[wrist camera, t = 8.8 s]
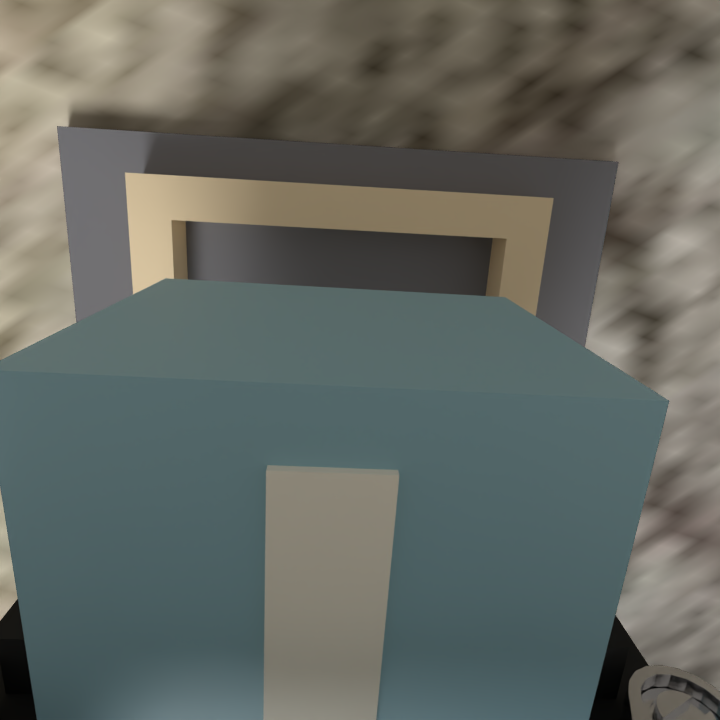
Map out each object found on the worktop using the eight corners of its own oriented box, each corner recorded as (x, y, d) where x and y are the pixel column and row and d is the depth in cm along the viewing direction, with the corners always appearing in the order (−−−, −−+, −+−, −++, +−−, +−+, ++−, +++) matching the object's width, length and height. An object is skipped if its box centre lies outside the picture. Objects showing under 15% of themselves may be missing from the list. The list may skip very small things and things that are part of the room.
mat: (522, 647, 19) (539, 690, 17) (115, 640, 18) (92, 684, 16) (609, 163, 14) (644, 158, 13) (67, 128, 13) (29, 118, 12)
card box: (165, 278, 9) (-25, 373, 4) (505, 297, 10) (675, 405, 5) (185, 713, 12) (84, 1057, 7) (444, 716, 13) (511, 1048, 8)
